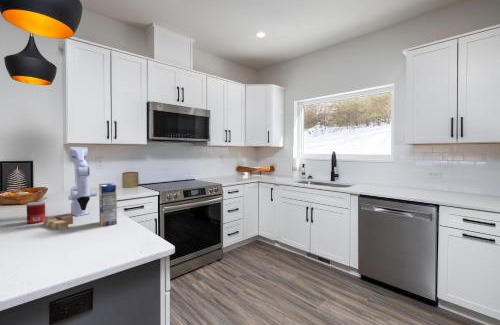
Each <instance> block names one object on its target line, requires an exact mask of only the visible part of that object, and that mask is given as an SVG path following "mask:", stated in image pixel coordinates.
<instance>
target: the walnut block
mask: <svg viewBox="0 0 500 325" xmlns="http://www.w3.org/2000/svg"><path fill="white" fill-rule="evenodd" d="M73 216H74V215H71V214H67V213H64V214H60V215H56V216H55V219H59V220H62V221H65V222H68V226H69V225H73V224H74V217H73Z"/></svg>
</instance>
